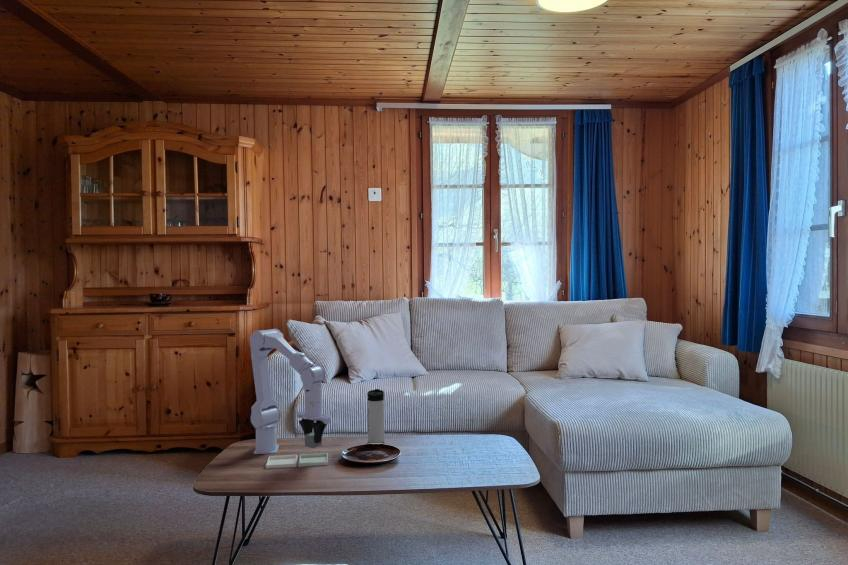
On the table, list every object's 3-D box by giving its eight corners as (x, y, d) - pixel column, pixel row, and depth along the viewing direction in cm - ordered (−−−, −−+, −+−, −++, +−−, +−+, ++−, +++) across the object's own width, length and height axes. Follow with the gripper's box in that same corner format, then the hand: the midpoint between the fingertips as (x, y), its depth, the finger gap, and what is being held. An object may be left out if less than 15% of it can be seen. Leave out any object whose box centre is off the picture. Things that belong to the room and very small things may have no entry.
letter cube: (304, 446, 190) (304, 434, 190) (313, 443, 194) (313, 431, 193) (313, 448, 188) (312, 436, 188) (321, 445, 191) (321, 433, 191)
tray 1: (269, 459, 193) (269, 456, 193) (297, 458, 195) (297, 454, 195) (265, 469, 184) (265, 465, 184) (295, 467, 185) (295, 463, 185)
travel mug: (385, 441, 214) (385, 388, 214) (382, 446, 207) (382, 392, 207) (369, 440, 215) (369, 388, 214) (366, 445, 208) (365, 392, 208)
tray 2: (300, 457, 195) (300, 454, 195) (328, 456, 196) (328, 452, 196) (298, 467, 185) (298, 463, 185) (327, 465, 187) (327, 461, 187)
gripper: (289, 401, 192) (290, 440, 192) (319, 406, 183) (319, 448, 183) (305, 397, 197) (305, 435, 197) (334, 402, 189) (334, 442, 189)
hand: (313, 441), depth 191 cm, fingers closed on letter cube, 4 cm apart
